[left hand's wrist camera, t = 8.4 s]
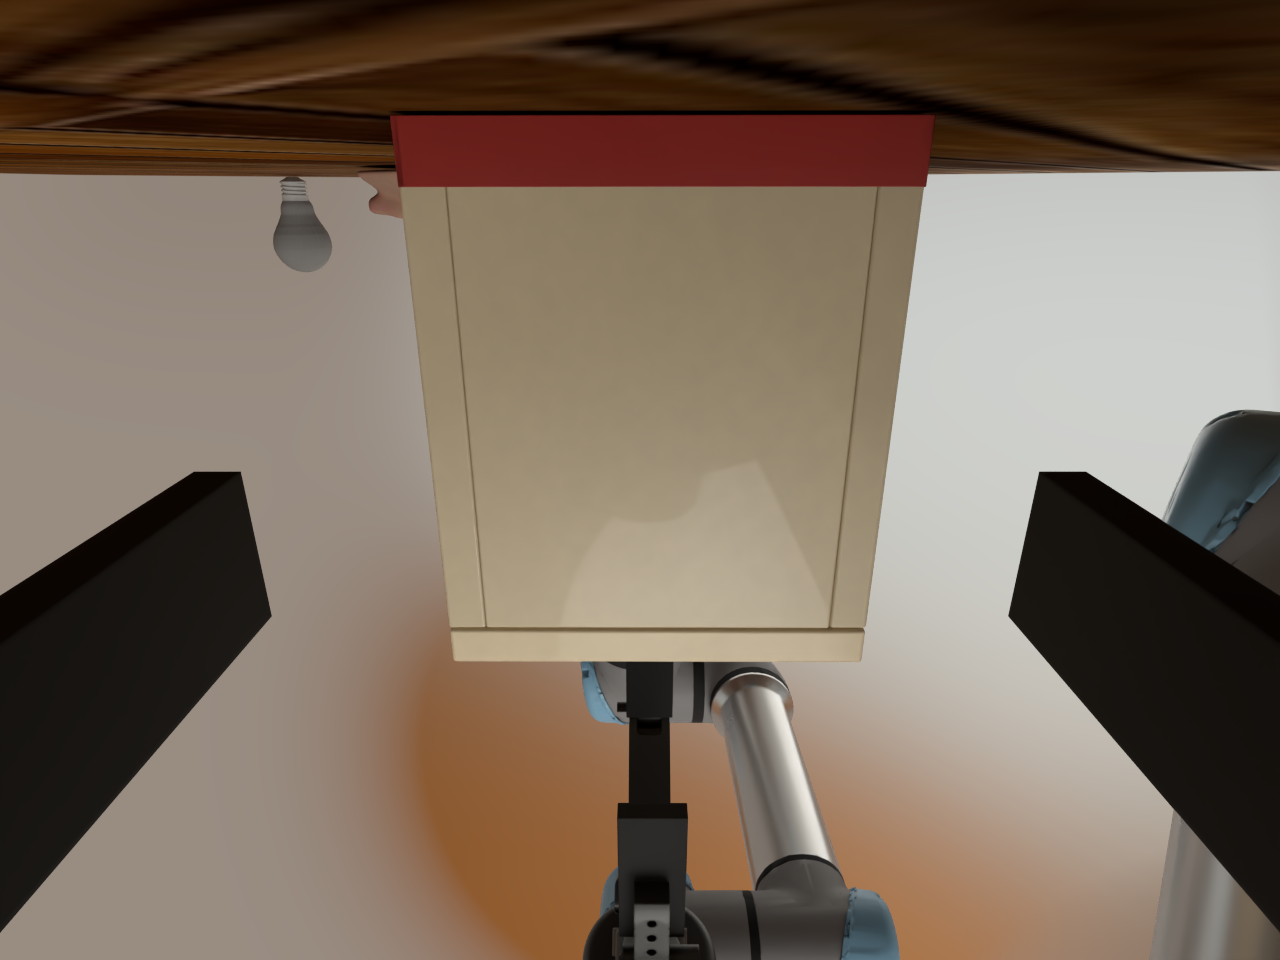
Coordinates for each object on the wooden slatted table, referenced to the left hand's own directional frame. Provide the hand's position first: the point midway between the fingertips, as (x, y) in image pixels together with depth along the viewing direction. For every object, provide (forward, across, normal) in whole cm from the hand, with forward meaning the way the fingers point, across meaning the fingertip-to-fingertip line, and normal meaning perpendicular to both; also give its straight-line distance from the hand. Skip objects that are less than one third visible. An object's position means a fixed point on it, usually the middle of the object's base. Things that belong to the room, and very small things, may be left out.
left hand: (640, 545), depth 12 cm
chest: (+11, 0, -7) cm, 13 cm away
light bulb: (+76, +38, -7) cm, 85 cm away
